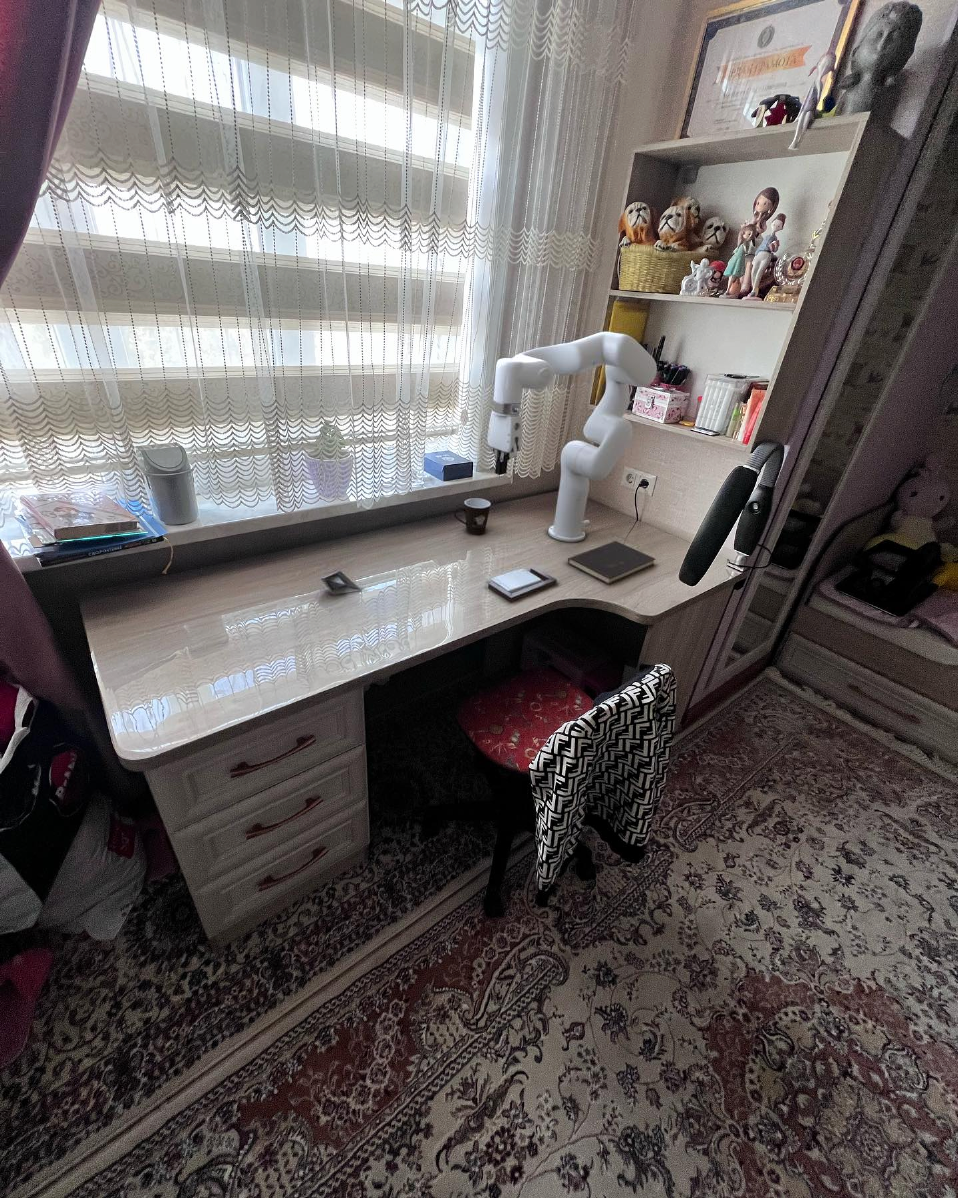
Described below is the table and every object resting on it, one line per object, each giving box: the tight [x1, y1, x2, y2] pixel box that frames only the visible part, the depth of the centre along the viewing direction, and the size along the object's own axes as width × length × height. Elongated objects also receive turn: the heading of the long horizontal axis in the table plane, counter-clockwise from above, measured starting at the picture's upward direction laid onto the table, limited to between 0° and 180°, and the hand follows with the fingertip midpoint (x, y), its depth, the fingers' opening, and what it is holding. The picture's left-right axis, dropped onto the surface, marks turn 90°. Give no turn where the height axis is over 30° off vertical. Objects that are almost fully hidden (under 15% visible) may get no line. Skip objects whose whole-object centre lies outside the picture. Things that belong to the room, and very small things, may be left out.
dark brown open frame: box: [487, 566, 558, 603], centre depth 149 cm, size 18×9×2 cm, turn 130°
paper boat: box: [320, 570, 362, 595], centre depth 138 cm, size 12×6×9 cm
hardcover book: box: [567, 540, 656, 585], centre depth 164 cm, size 16×23×2 cm
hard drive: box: [488, 568, 542, 594], centre depth 150 cm, size 2×8×12 cm
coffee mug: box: [453, 497, 492, 536], centre depth 177 cm, size 12×9×10 cm
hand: (500, 473), depth 154 cm, fingers closed
